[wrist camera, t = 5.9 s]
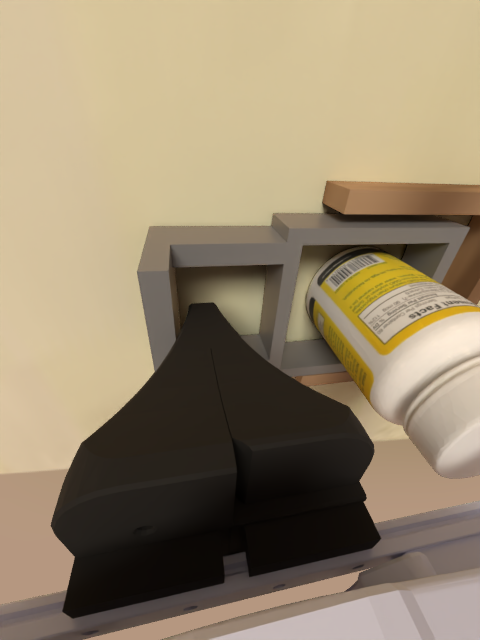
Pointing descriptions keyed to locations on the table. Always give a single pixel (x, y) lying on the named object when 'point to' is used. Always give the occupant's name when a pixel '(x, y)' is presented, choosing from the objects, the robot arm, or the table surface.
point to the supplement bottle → (406, 351)
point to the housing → (413, 199)
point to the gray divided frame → (280, 271)
